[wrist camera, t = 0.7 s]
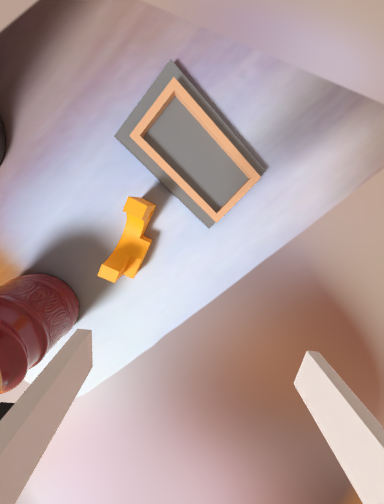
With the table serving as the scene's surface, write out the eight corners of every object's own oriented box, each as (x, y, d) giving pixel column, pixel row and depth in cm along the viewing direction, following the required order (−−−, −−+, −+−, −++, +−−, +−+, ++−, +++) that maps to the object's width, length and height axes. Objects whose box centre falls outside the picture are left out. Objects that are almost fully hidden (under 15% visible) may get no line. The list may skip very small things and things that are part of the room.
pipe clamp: (138, 271, 32) (126, 288, 26) (115, 261, 31) (97, 275, 25) (166, 210, 29) (160, 212, 23) (141, 197, 28) (128, 196, 22)
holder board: (116, 138, 26) (110, 132, 24) (171, 65, 24) (169, 51, 21) (208, 227, 30) (209, 229, 27) (263, 171, 27) (269, 169, 25)
